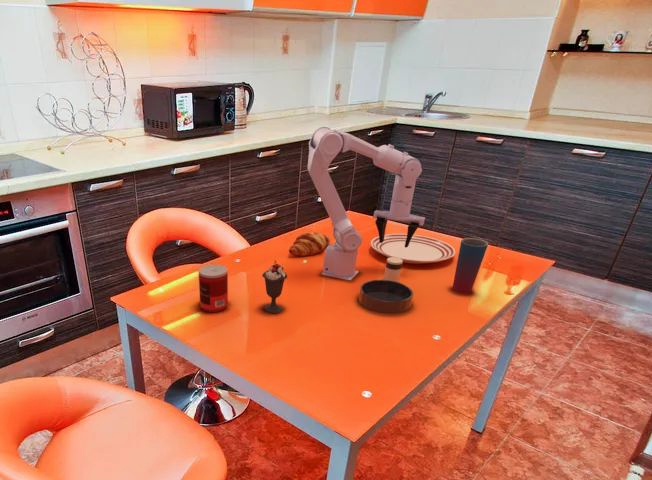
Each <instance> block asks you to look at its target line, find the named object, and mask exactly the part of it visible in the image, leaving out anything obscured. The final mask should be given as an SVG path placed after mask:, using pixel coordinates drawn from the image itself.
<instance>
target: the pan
mask: <svg viewBox="0 0 652 480" xmlns="http://www.w3.org/2000/svg"><path fill="white" fill-rule="evenodd" d="M413 299H414V290H413V289H411V288H410V287H409V286H408V285H406V284H404V283H402V282H400V281H399V282H395V281H390V280H384V279H372V280H367V281H365V282H363V283H362V284H361V285H360V286H359V293H358V302H359V304H360V305H361V306H362V307H363V308H365V309H367V310H369V311H371V312H375V313H380V314H388V315H389V314H390V315H395V314H401V313H405V312H407V311H409V310H410V308H411V307H412V304H413V303H412V302H413Z"/></svg>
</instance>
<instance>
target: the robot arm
mask: <svg viewBox="0 0 652 480" xmlns="http://www.w3.org/2000/svg"><path fill="white" fill-rule="evenodd" d="M348 151H352V152H355V153H357V154H360V155H362V156H365V157H368V158H370V159H372V162H373V165H374V166H376V167H378V168H380V169H383V170H385V171H387V172H390V173H392V174H395V179H394V184H393V189H392V195H391V196H392V197H391V201H390V206H389V210H378V209H377V210H375V211H374V212H373V215H372V216H373V217H372V218H373V219H376V220H375V226H376V228H377V232H378V236H379V243H382V242H383V241H384V236H385V235H386V228H387V224H388V221H395V222H401V223H408V225H407V232H406V234H407V238H406V242H405V247H408V246H409V243H410V240H411V238H412V236H413V235H415V233H416V231H417V230H418V229H419V227H420V226H423V225H424V224H425V220H426V217H425V216H420V215H417V214H412V213H411V208H412V204H413V198H414V192H415V187H416V182H417V179H419V177H420V176H421V174H422V172H423V168H422V163H421V162H420V160H419V159H417V158H416V157H413V156H411V155H409V152H408V151H407V152H406V151H400V150H398V149H396V148H395V145H392V144H391V143H388V145H387V144H383V145H382V144H381V145H380V146H378V147H377V146H375V145H373V144H371V143H369V142H368V141H365V140H363V139H361V138H359V137H356V136H355V135H353V134H350V133H348V132H344V131H341V130H338V129H333V130H332V129H331V128H330V127H327V126H321V127H319V128H317V129H316V130H315V131H314V132H313V133H312V136H311V138H310V140H309V141H308V159H307V167H306V168H307V172H308V175H309V176H310V179H311V181H312V183H313V185H314V187H315V190H316V191H317V193H318V195H319V198H320V200H321V202H322V204H323V206H324V209H325V210H326V212H327V215H328V217H329V219H330V221H331V226H332V228H333V231H332V236H333V238H334V239H335V241H334V244H328V245H327V246H326V248H325V252H324V256H323V266H322V267H323V268H322V272H321V275H322V276H325V277H334V278H338V279H342V280H346V281H352V280H353V279H354V277H356V275H357V274H358V273H359V270H357V269H356V265H357V259H358V257H357V256H358V251H359V248H360V247H361V245H362V244H363V236H362V234H361V233H360V232H359V231H358V230H357V229H355V226H354V225H353V223H352V221H351V220H350V217H349V216H348V214H347V211H346V209H345V207H344V205H343V202H342V200H341V198H340V196H339V193H338V191H337V189H336V187H335V184H334V183H333V180H332V177H331V175H330V173H329V171H328V169H329V167H330V165H331V163H332V161H333V160H334V159H335V158H336V157H337V156H338V154H339V153H340V152H341V153H346V152H348Z"/></svg>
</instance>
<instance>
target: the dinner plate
mask: <svg viewBox="0 0 652 480" xmlns="http://www.w3.org/2000/svg"><path fill="white" fill-rule="evenodd" d="M406 238H407V233H389V234H385V236H384V241H383V242H382V243H379V235H378V236H376V237H374V238H372V239H371V240H370V246H371V248H372V249H373V250H374V251H375V252H377V253H379V254H380V255H382V256H384V257H386V258H390V257H397V258H400V259H402V260H403V263H406V264H412V265H413V264H415V265H422V264H423V265H425V264H432V263H439V262H444V261H447V260H449V259H451V258H453V257H454V256H455V255H456V249H455V248H454V247H453V246H452V245H450V244H449V243H448V242H446V241H443V240H440V239H437V238H433V237H430V236H425V235H419V234H413V236H412V238H411V240H410V243H409V246H408V247H405V242H406Z"/></svg>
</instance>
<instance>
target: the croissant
mask: <svg viewBox="0 0 652 480" xmlns="http://www.w3.org/2000/svg"><path fill="white" fill-rule="evenodd" d="M330 242H331V236H327V235H326V234H321V233H319V232H309V231H307V232H303V233H300V234H299V235H297V236H296V239H295V241H294V242H293V243H292V245H291V246H290V247H289V249H288V253H289V254H290V255H293V256H300V257H305V256H312V255H315V254H318V253H321V252H322V251H324V250H325V249H326V248H327V247H328V245H329V244H330Z"/></svg>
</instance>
